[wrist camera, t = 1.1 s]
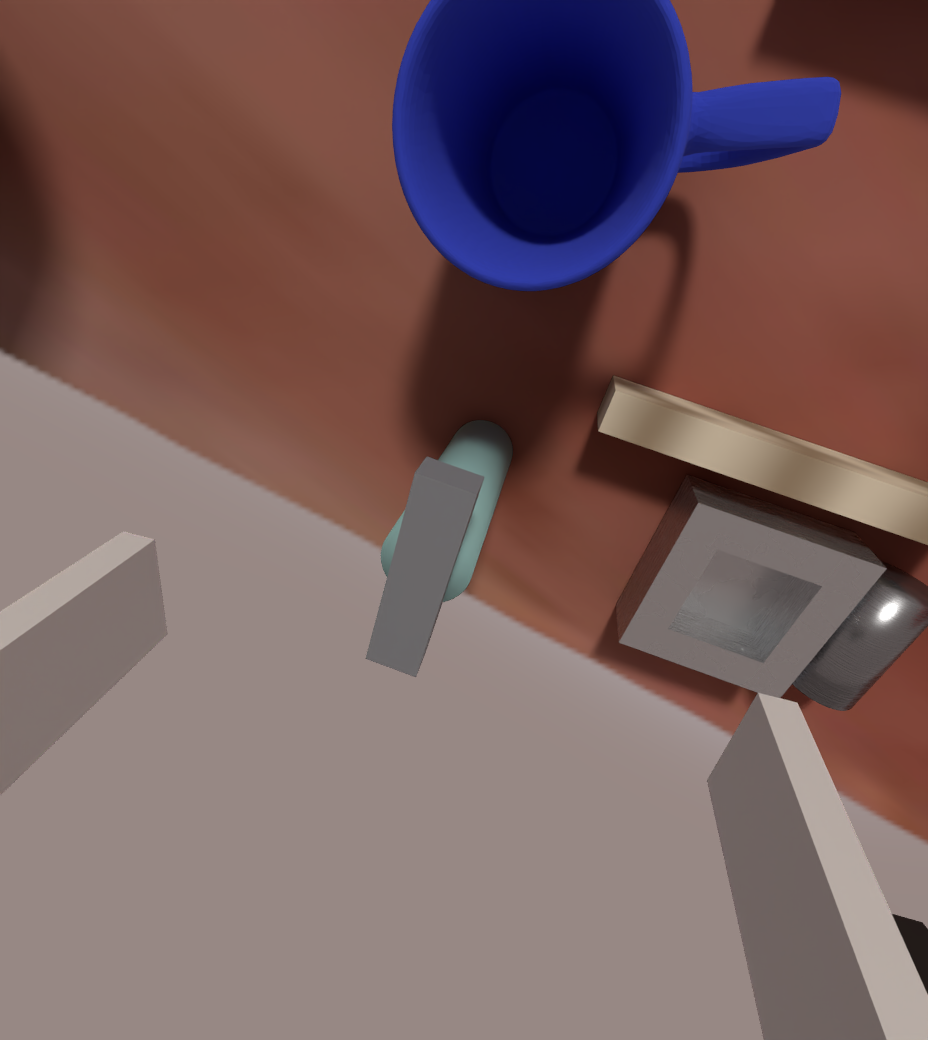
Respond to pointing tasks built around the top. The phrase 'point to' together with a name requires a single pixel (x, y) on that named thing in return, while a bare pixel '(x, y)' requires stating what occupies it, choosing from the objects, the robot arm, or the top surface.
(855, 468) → the bay
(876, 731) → the top surface
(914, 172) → the top surface
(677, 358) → the top surface
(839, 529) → the block
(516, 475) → the top surface
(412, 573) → the crank peg
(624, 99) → the mug
